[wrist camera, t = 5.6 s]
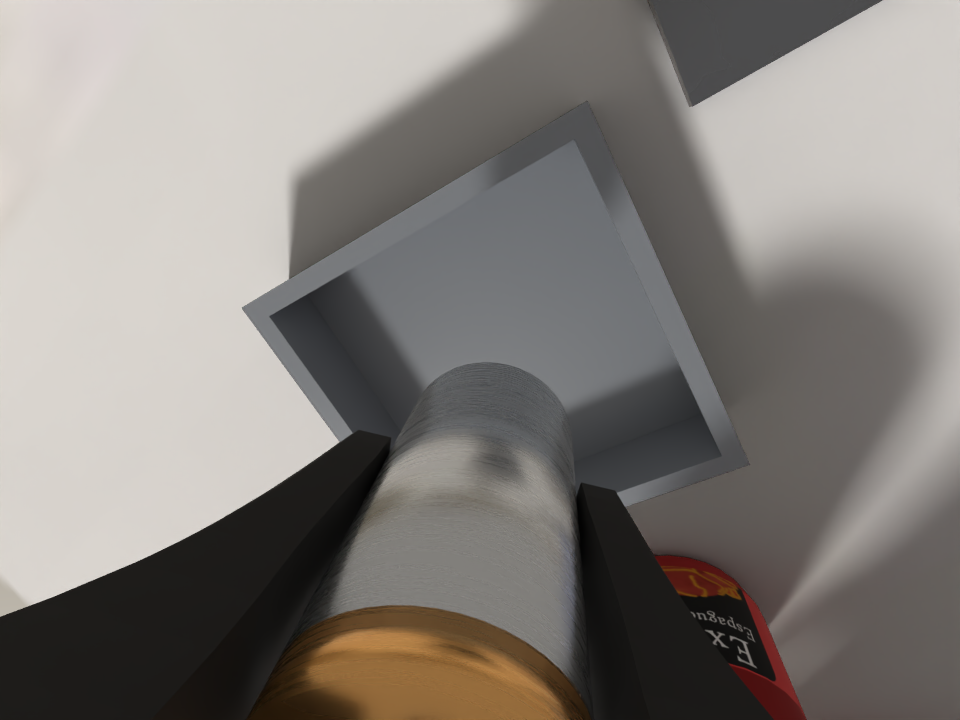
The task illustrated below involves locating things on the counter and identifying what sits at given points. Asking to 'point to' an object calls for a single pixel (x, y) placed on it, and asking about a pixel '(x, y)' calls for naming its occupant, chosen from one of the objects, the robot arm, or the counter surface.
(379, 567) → the grey and gold cylinder
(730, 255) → the counter surface
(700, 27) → the socket base
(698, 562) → the canned food
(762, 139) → the counter surface
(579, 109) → the bin
